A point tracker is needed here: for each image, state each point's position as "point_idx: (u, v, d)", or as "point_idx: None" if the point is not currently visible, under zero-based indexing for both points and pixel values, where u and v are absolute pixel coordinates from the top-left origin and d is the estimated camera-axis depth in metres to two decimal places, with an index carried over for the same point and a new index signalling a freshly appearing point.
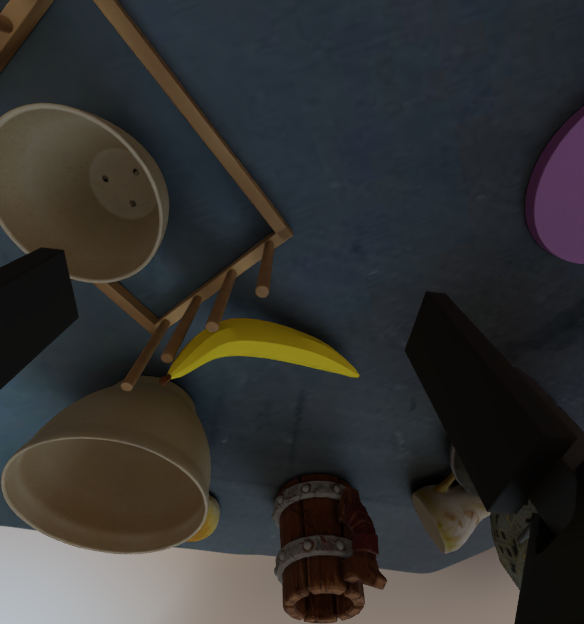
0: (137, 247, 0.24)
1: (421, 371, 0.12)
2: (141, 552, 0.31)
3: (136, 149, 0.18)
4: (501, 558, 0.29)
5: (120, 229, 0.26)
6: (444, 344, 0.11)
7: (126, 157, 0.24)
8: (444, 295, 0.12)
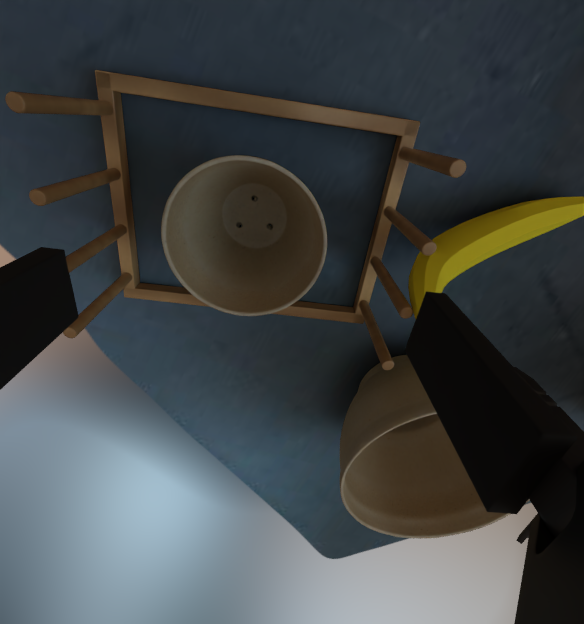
0: (302, 251, 0.24)
1: (421, 371, 0.12)
2: (502, 516, 0.29)
3: None
4: None
5: (277, 253, 0.26)
6: (444, 344, 0.11)
7: (240, 193, 0.25)
8: (444, 295, 0.12)
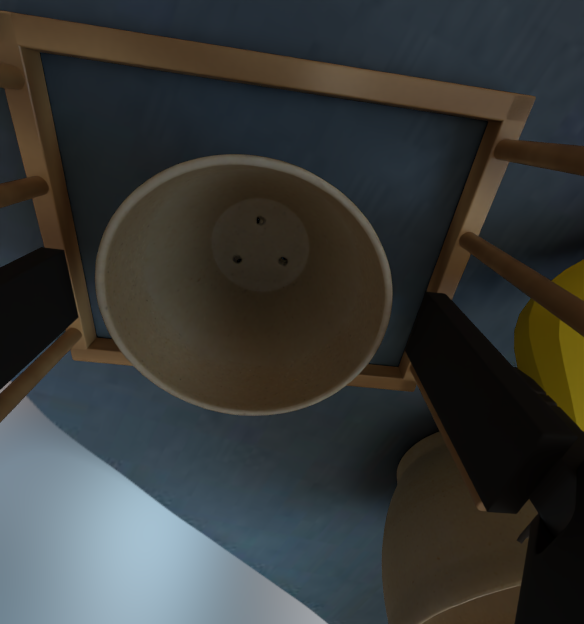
0: (336, 305, 0.15)
1: (421, 371, 0.12)
2: None
3: None
4: None
5: (295, 301, 0.18)
6: (444, 344, 0.11)
7: (239, 213, 0.16)
8: (444, 295, 0.12)
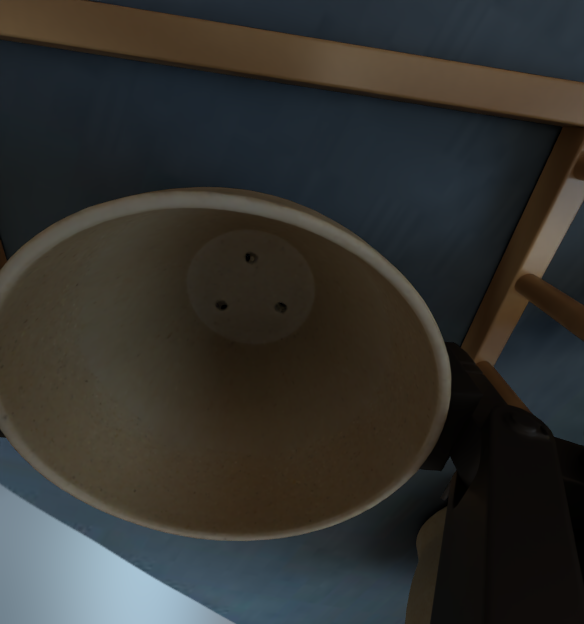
0: (353, 376, 0.11)
1: None
2: None
3: (243, 192, 0.05)
4: None
5: (296, 359, 0.13)
6: None
7: (222, 248, 0.12)
8: None
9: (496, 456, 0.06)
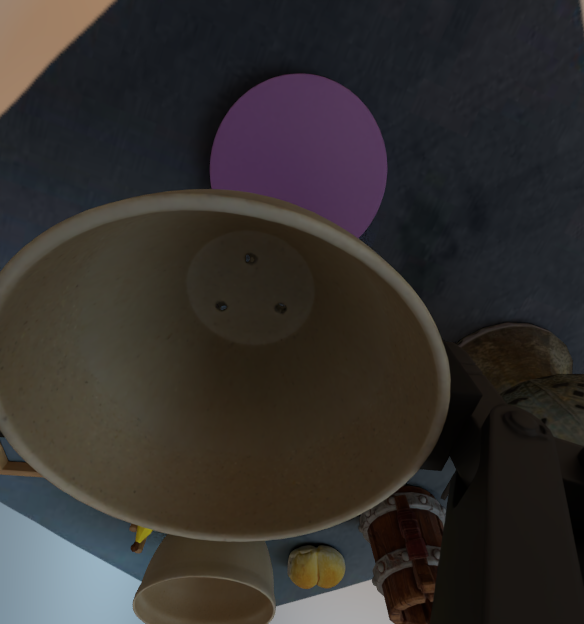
0: (352, 377, 0.11)
1: None
2: None
3: (243, 195, 0.05)
4: None
5: (296, 360, 0.13)
6: None
7: (222, 249, 0.12)
8: None
9: (496, 456, 0.06)
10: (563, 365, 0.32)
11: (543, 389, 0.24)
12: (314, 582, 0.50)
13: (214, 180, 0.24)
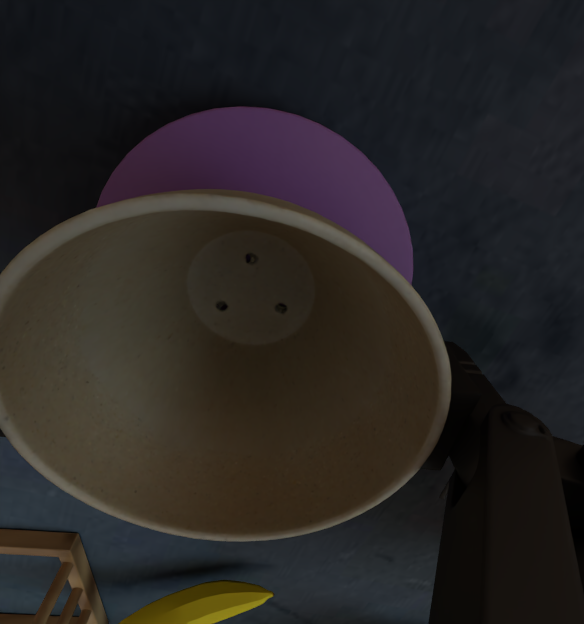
0: (353, 376, 0.11)
1: None
2: None
3: (245, 195, 0.05)
4: None
5: (296, 360, 0.13)
6: None
7: (222, 249, 0.12)
8: None
9: (494, 456, 0.06)
10: None
11: None
12: None
13: None
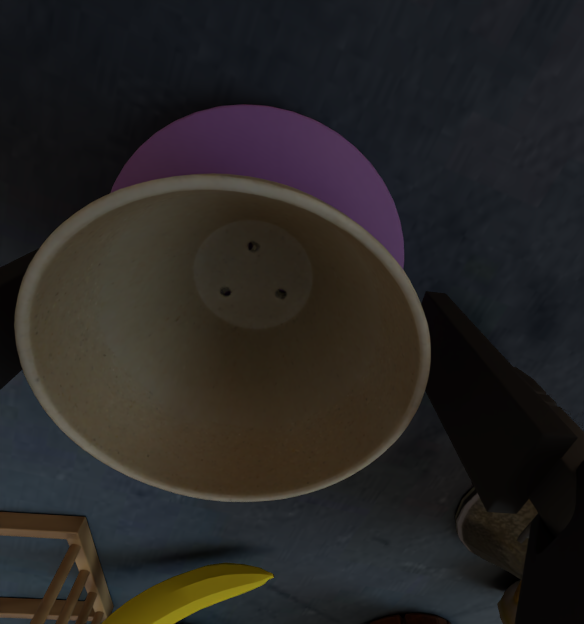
0: (347, 354, 0.12)
1: None
2: None
3: (250, 177, 0.06)
4: None
5: (295, 342, 0.14)
6: (444, 344, 0.11)
7: (227, 237, 0.13)
8: (444, 295, 0.12)
9: None
10: None
11: None
12: None
13: None
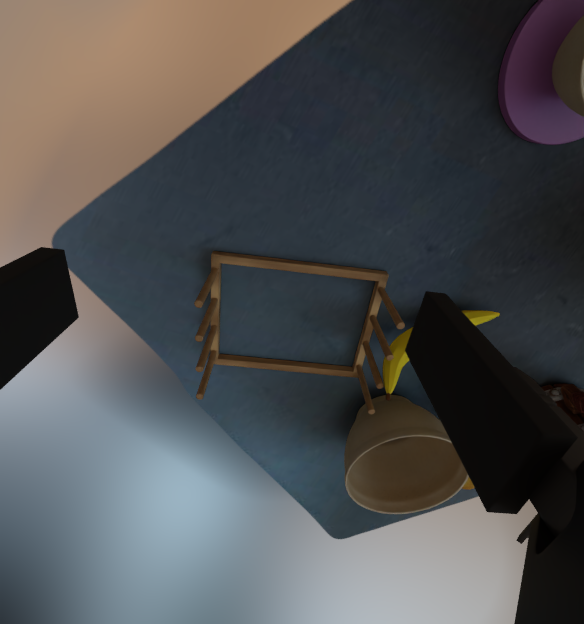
0: None
1: (421, 371, 0.12)
2: (446, 499, 0.46)
3: None
4: None
5: None
6: (444, 344, 0.11)
7: None
8: (444, 295, 0.12)
9: None
10: None
11: None
12: None
13: (512, 61, 0.30)
